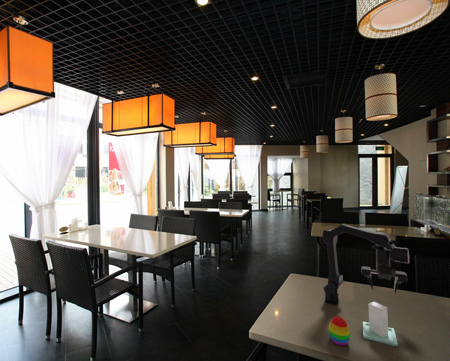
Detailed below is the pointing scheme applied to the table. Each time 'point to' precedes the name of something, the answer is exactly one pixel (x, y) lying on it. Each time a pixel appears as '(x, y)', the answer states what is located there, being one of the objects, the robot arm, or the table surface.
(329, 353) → the table surface
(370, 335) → the tray
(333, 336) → the decorative egg
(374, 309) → the skincare box
